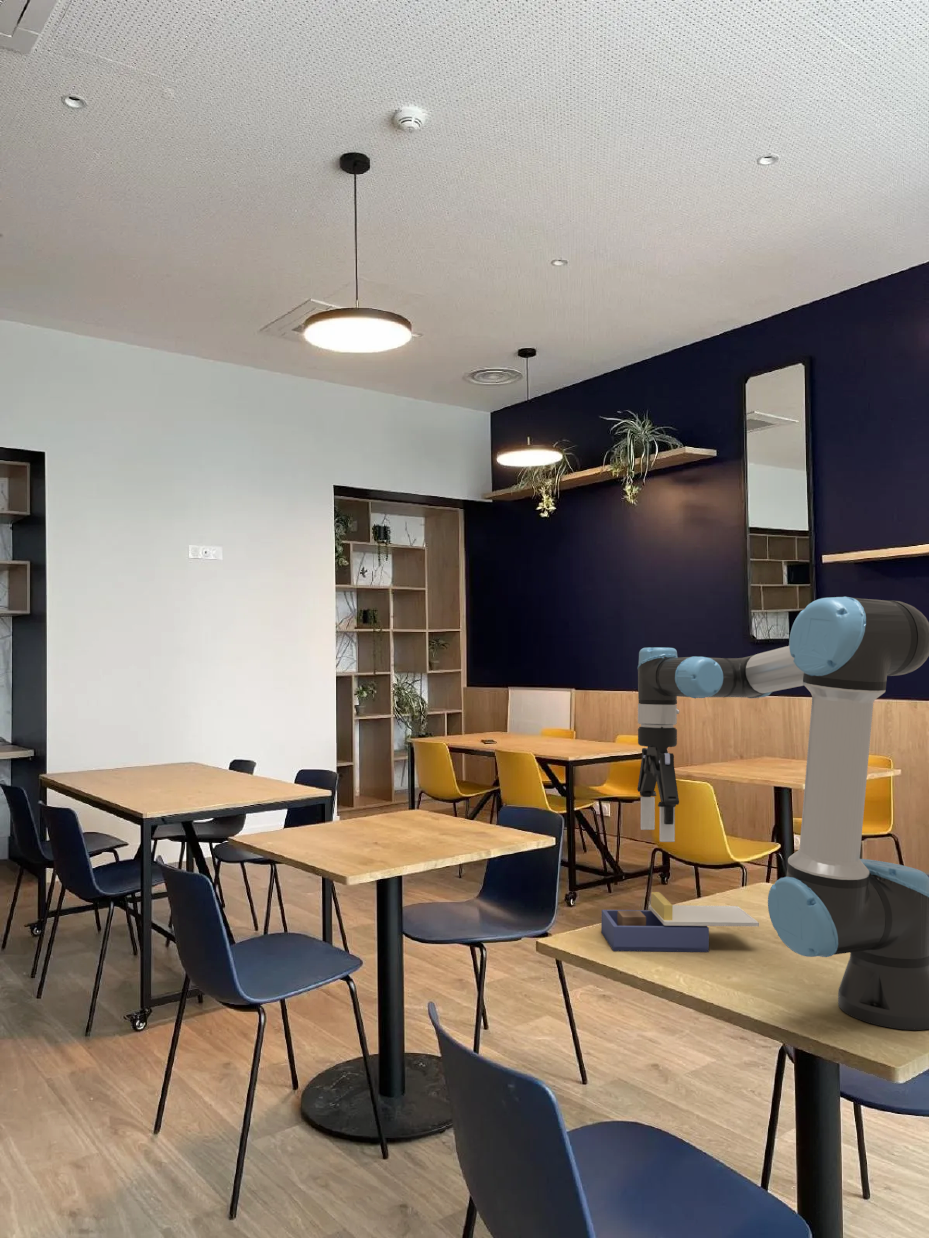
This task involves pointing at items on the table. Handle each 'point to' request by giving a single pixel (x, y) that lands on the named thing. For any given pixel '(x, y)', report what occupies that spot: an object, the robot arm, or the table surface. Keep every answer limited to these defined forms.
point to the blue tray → (653, 935)
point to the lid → (698, 914)
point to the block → (630, 918)
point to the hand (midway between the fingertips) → (656, 835)
